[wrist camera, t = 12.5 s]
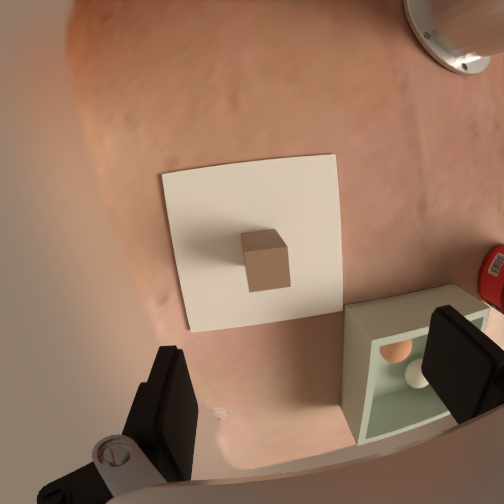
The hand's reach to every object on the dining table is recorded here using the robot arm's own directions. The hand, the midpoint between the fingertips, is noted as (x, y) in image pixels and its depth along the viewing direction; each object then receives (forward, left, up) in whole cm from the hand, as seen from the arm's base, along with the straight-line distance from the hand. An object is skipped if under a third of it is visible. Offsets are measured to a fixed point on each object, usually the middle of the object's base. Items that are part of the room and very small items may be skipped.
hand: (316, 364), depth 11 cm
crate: (+14, +14, -18) cm, 28 cm away
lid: (0, 0, -19) cm, 19 cm away
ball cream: (+17, +16, -16) cm, 28 cm away
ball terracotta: (+12, +12, -16) cm, 23 cm away
